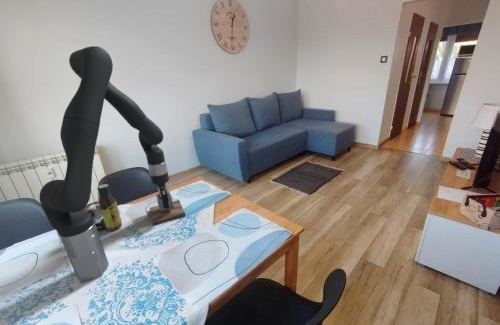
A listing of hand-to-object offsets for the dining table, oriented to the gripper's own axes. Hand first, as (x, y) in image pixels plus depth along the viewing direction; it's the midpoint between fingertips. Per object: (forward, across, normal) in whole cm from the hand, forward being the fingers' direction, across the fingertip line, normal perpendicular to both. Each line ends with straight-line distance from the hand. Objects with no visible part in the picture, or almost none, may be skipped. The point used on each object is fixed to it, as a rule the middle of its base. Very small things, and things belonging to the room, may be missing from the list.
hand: (165, 204), depth 108 cm
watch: (+5, +4, +28) cm, 29 cm away
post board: (+5, 0, 0) cm, 5 cm away
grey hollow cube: (+1, 0, 0) cm, 1 cm away
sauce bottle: (+5, +1, +22) cm, 23 cm away
